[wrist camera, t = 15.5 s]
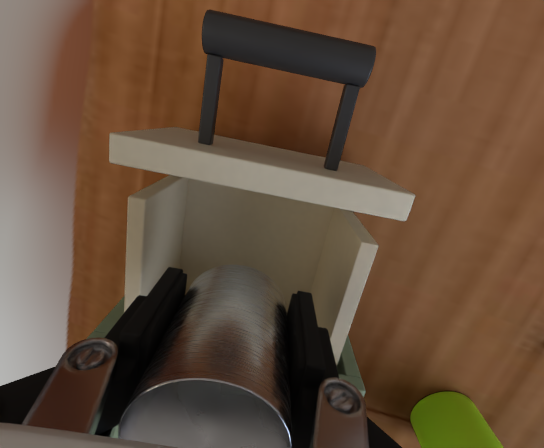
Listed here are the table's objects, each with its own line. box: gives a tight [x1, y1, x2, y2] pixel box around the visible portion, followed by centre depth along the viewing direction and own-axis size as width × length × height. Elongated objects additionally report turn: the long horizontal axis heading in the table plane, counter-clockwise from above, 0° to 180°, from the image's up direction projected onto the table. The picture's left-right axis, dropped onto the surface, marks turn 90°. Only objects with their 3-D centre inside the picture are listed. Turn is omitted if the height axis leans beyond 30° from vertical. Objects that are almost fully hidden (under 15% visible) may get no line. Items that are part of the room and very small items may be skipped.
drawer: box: [109, 10, 415, 366], centre depth 17 cm, size 19×12×8 cm, turn 169°
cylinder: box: [118, 265, 292, 448], centre depth 10 cm, size 4×4×6 cm
